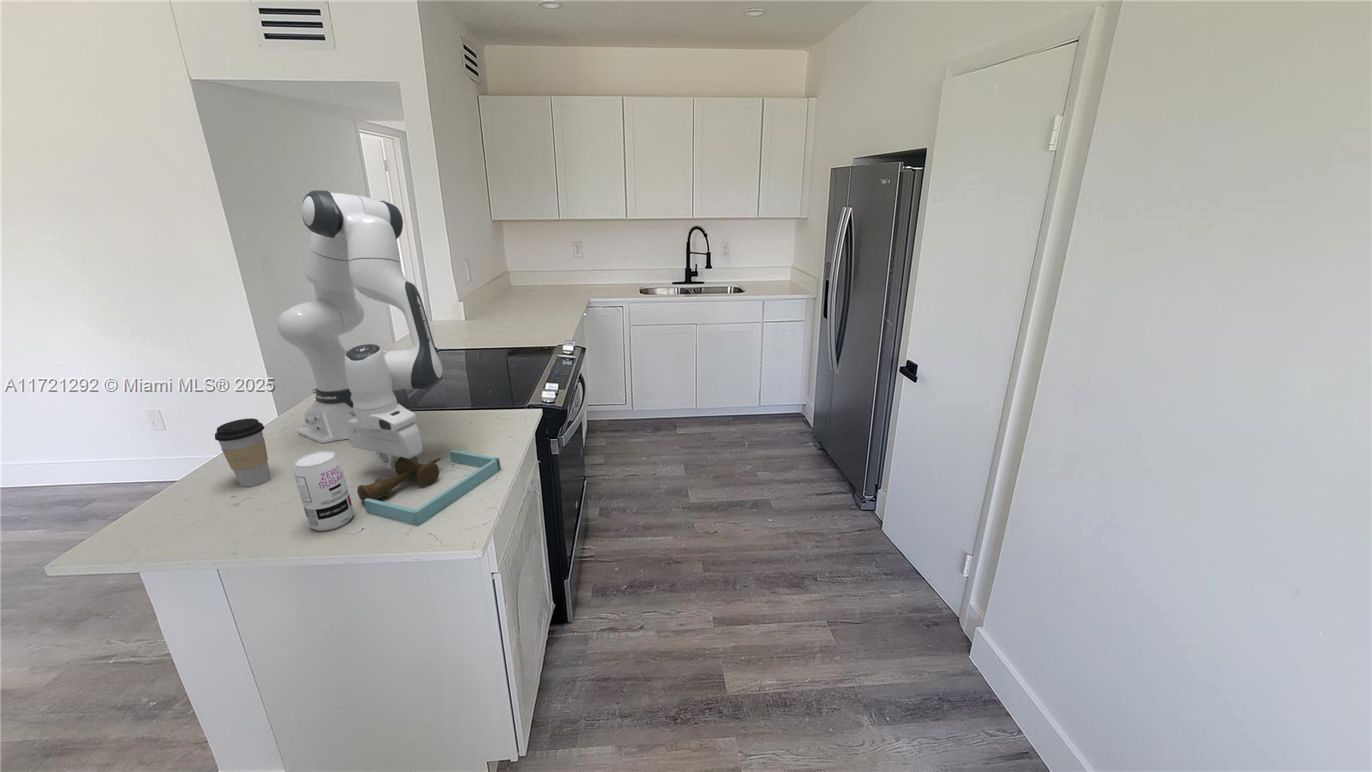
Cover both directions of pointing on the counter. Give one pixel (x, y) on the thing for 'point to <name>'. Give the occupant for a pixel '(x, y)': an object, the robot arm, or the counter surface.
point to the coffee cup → (245, 450)
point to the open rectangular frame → (444, 499)
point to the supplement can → (323, 490)
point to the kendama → (401, 477)
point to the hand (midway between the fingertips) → (390, 467)
